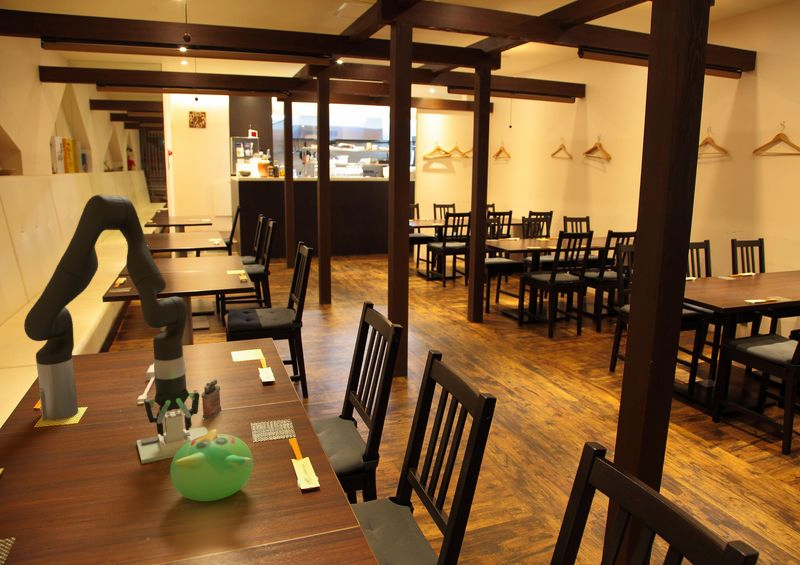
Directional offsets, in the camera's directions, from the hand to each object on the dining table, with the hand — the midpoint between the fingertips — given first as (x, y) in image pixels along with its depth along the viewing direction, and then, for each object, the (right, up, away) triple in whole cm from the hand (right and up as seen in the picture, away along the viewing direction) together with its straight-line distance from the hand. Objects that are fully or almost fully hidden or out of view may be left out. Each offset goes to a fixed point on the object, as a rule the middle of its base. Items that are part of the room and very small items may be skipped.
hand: (174, 431), depth 156 cm
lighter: (+3, 0, +21) cm, 21 cm away
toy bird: (+18, -9, -22) cm, 30 cm away
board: (0, -4, +1) cm, 4 cm away
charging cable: (-24, +5, +42) cm, 49 cm away
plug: (0, -3, +1) cm, 3 cm away
